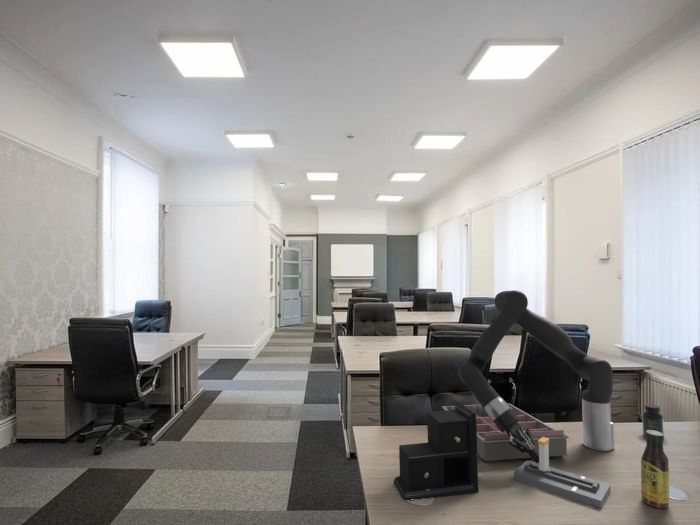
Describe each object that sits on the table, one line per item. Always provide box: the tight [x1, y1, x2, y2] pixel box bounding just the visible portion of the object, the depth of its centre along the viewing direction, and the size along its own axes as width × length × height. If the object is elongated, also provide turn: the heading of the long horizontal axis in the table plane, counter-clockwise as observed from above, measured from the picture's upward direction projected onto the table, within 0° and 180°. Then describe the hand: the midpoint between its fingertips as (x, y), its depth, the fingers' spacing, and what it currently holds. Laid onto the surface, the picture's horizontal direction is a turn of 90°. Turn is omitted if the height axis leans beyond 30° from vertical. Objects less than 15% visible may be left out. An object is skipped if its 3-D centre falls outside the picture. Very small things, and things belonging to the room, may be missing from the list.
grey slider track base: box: [513, 460, 612, 509], centre depth 122 cm, size 24×12×4 cm, turn 46°
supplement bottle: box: [641, 404, 665, 437], centre depth 161 cm, size 7×7×12 cm
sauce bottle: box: [640, 430, 670, 509], centre depth 112 cm, size 7×6×20 cm
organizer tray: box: [441, 402, 570, 462], centre depth 157 cm, size 32×40×10 cm
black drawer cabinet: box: [393, 402, 479, 501], centre depth 121 cm, size 23×11×24 cm, turn 101°
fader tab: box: [538, 437, 551, 474], centre depth 126 cm, size 4×4×10 cm
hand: (539, 461), depth 127 cm, fingers closed
